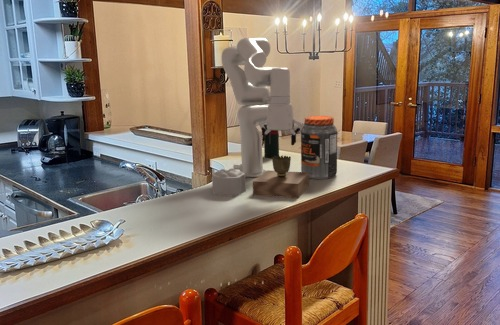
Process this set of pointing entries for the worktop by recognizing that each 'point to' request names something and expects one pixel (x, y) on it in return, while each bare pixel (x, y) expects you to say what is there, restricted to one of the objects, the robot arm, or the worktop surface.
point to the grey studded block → (228, 182)
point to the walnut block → (281, 184)
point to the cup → (281, 165)
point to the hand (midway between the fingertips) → (280, 144)
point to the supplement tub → (319, 147)
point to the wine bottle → (271, 144)
